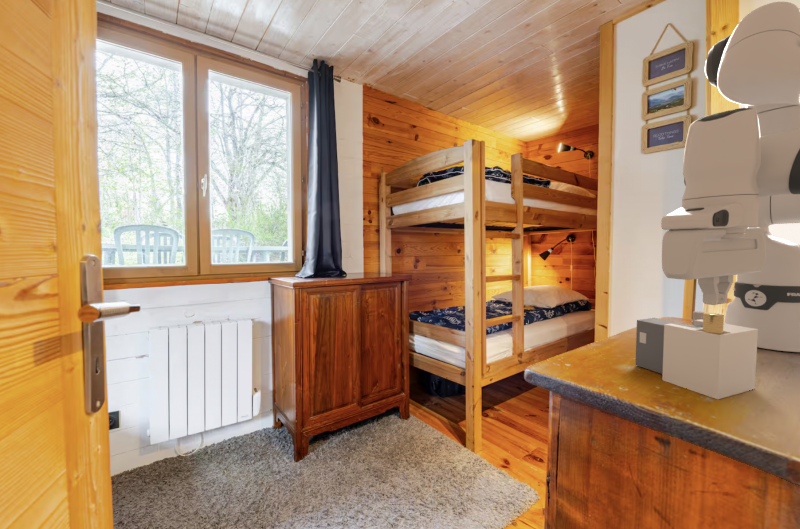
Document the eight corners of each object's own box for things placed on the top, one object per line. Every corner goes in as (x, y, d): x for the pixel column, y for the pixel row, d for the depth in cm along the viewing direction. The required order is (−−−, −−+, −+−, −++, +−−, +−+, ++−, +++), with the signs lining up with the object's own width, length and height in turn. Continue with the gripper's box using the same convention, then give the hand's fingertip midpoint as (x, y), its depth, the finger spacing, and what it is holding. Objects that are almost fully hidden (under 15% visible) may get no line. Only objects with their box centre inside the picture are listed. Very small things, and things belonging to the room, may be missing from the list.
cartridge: (653, 361, 69) (654, 317, 68) (706, 377, 60) (708, 327, 60) (635, 365, 67) (636, 320, 66) (687, 382, 59) (689, 330, 58)
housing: (698, 372, 64) (700, 319, 63) (754, 388, 56) (757, 329, 55) (662, 380, 60) (664, 324, 59) (717, 399, 53) (720, 335, 52)
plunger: (707, 348, 56) (709, 312, 56) (725, 352, 54) (727, 315, 54) (698, 350, 55) (699, 313, 55) (716, 354, 53) (718, 316, 53)
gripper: (732, 217, 60) (729, 295, 61) (653, 218, 53) (651, 306, 54) (782, 215, 54) (777, 301, 55) (701, 215, 47) (698, 314, 48)
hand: (714, 303), depth 55 cm, fingers closed
